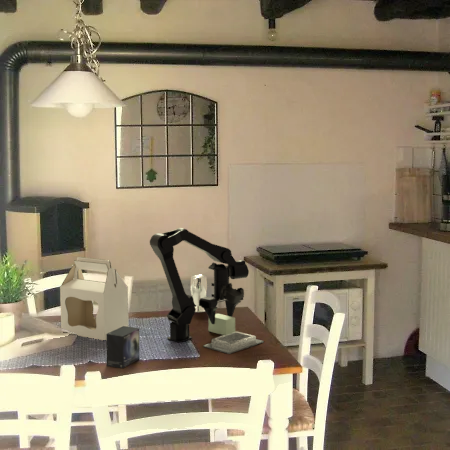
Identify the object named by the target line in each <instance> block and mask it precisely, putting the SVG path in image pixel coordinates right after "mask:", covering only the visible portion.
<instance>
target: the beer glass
mask: <svg viewBox="0 0 450 450" xmlns="http://www.w3.org/2000/svg"><path fill="white" fill-rule="evenodd" d="M207 280H208V279H207V275H204V274H192V275H190V294H191V296H192V297H193V300H194V304H195V305H196V307H195V313H204V312H205V313H206V311H205V310H204V308H202V307H201V306H199V300H200V299H201V298H204V297H207V290H208V282H207Z"/></svg>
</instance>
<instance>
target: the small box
mask: <svg viewBox="0 0 450 450" xmlns="http://www.w3.org/2000/svg"><path fill="white" fill-rule="evenodd" d="M106 335H107V340H106V365H105V366H106V367H112V368H118V369H124V368H126V367H128V366H129V365H132V364H133V363H134V362H136V361H139V360H140V327H134V326H133V327H132V326H129V327H127V326H122V327H120V328H118V329H116V330H114V331H112V332H109V333H107V334H106ZM138 359H139V360H138Z"/></svg>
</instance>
